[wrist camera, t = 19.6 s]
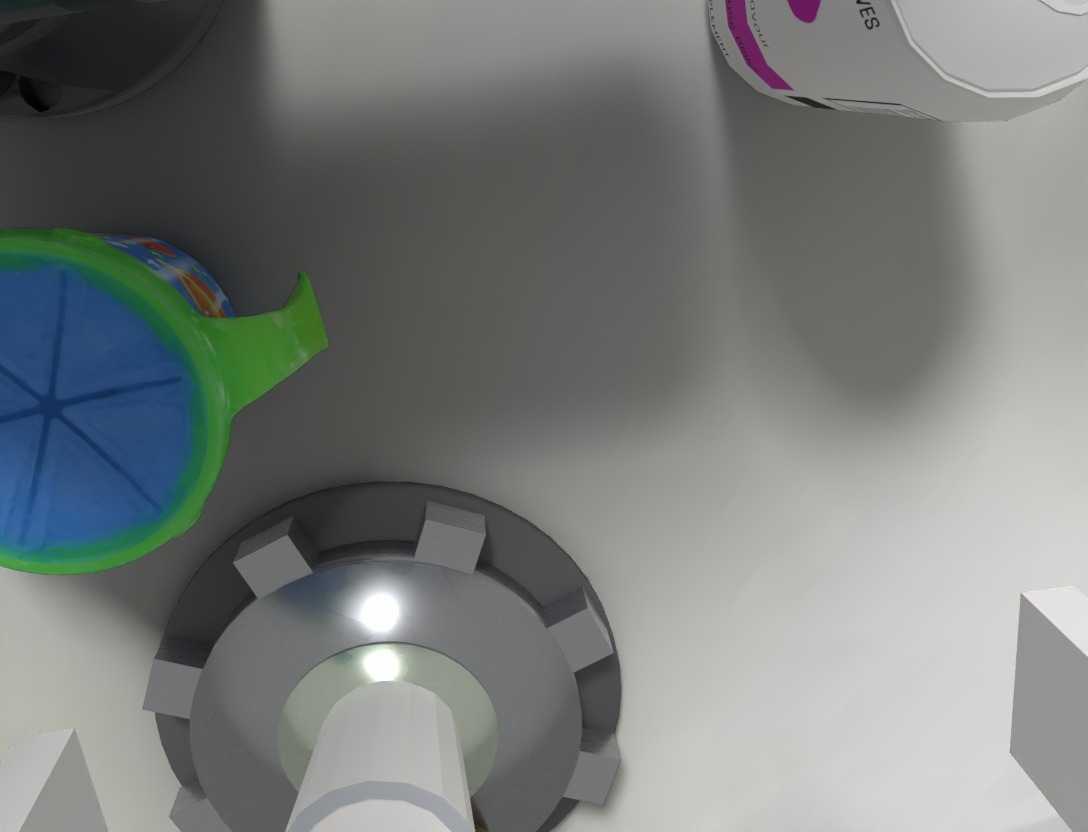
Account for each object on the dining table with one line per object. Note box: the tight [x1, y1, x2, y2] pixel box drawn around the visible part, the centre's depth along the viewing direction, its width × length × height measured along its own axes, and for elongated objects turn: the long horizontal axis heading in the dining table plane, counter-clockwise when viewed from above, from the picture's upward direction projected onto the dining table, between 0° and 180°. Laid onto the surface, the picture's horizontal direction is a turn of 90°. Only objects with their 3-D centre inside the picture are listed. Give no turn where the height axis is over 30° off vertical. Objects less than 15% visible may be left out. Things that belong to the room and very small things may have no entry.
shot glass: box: [285, 681, 475, 832], centre depth 38 cm, size 7×7×7 cm
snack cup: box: [0, 227, 329, 575], centre depth 34 cm, size 16×10×10 cm
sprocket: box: [143, 501, 621, 832], centre depth 40 cm, size 20×20×9 cm
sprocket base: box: [155, 482, 621, 832], centre depth 45 cm, size 20×20×1 cm
